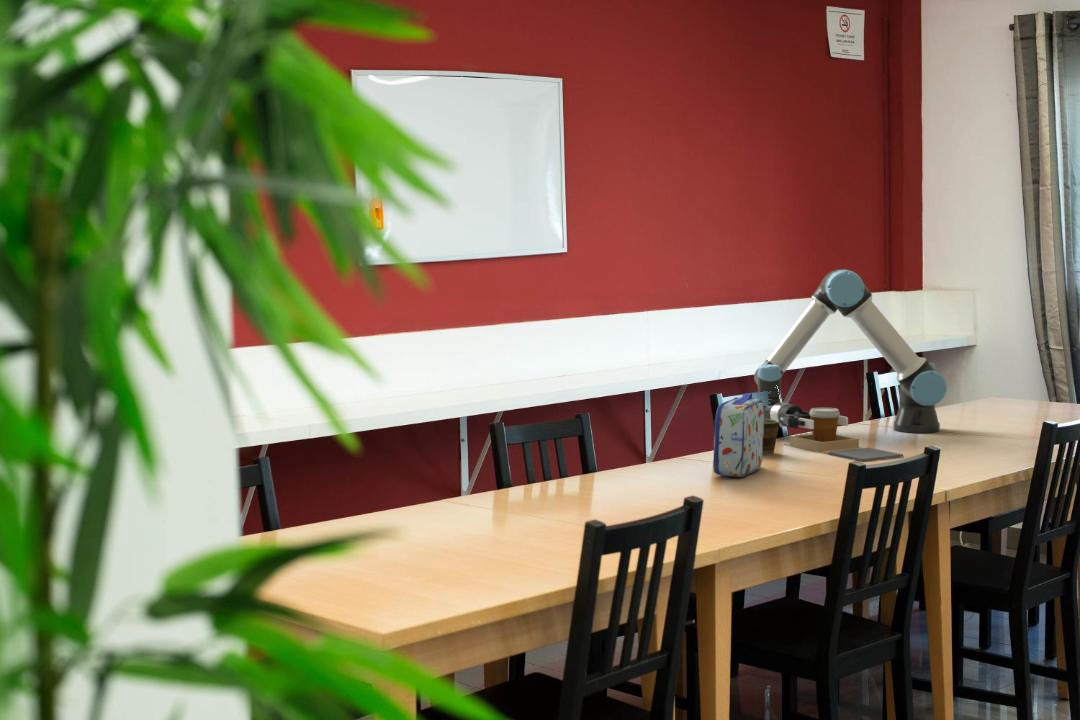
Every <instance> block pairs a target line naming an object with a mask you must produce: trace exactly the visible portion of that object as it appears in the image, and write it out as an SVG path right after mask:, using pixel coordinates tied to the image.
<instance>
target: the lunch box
mask: <svg viewBox="0 0 1080 720" xmlns="http://www.w3.org/2000/svg"><path fill="white" fill-rule="evenodd" d="M715 411H716V413H715V416H714V417H715V419H714V437H713V439H714V440H713V460H712V461H713V462H712V463H713V464H712V467H713V472H714V474H716V475H719V476H727V477H736V478H743V477H744V476H747V475H749V474H751V473H755V472H756V471H757V470H758V469H759V468H760V467H762V466H761V465H762V463H763V457H764V455H763V449H762V445H763V433H764V405H763V402H762V400H760V399H758V398H754V397H753V392H750V393H748V392H747V393H743V395H742V396H739V397H737V396H736V397H734V398H732V399H730V400H727V401H724V402H722V403H720V404H719V405H718V406H717V409H716V410H715Z"/></svg>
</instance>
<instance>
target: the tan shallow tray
mask: <svg viewBox="0 0 1080 720" xmlns="http://www.w3.org/2000/svg"><path fill="white" fill-rule="evenodd" d="M789 441H790V442H785V443H784V444H783V445H785V446H789V447H794V448H799V449H803V450H806V451H807V450H808V451H812V452H818V453H822V454H825V455H826V454H827V455H828V452H832V451H841V450H851V449H860V448H862V447H860V439H859V438H856V437H850V436H846V435H841V434H836V439H835V441H828V442H819V441H814V440H813V433H812V434H802V435H800V434H799V435H792V436H791V435H790V438H789Z"/></svg>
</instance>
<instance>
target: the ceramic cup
mask: <svg viewBox="0 0 1080 720" xmlns="http://www.w3.org/2000/svg"><path fill="white" fill-rule="evenodd" d="M779 427H780V425H779V421H778V420H773V419H764V433H763V445H762V449H763V456H771V455H773V454H774V453H775V450H776V449H775V448H776V442H777V436H778V432H779Z"/></svg>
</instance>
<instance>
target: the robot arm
mask: <svg viewBox="0 0 1080 720" xmlns="http://www.w3.org/2000/svg"><path fill="white" fill-rule="evenodd" d="M837 311H838V312H840V314H841V315H842V317H844V318H850V319H851V320H852V321H853V322H854V323H855V324H856V326H857V327H858V328H859V329H860V331H861V332H862V333H863V334H864V336H865V337H867V339H868V340H869V341H870V343H871V344H872V345H873V346H874V347H875V349H876V350H877V351H878V352H879V353H880V355H882V357H883V358H884V359H885V361H886V362H887V363H888V364H889V365H890V366H891V367H892V369H893V371H895V372H896V381H897V382H898V383H899V397H898V398H899V403H898V410H897V414H896V418H895V420H894V421H893V430H894V431H896V432H904V433H914V434H925V433H926V434H928V433H931V434H932V433H937V432H939V431H941V424H940V421H939V419H938V418H939V417H938V414H937V411H936V404H939V403H940V402H941V401H942V400H943V399H944V397H945V396H946V395H947V394H946V393H947V390H948V389H947V387H948V385H947V381H946V379H945V377H944V376H943V375H942V374H941V373H940V372H938V371H937V369H936V364H935V363H934V362H929V360H928V359H927V358H926V357H921V356H918V355H917V353H915V351H914V350H913V349H912V348H911V346H909V343H908V342H906V340H905V339H904V338H903V336H902V335H900V333H899V332H898V331H897V329H896V328H895V327H894V326H893V325H892V323H891V322H890V321H889V320H888V319H887V318H886V317H885V315H884V314H883V312H882V311H881V310H880V309H879V308H878V307H877V306H876V305H875V303H874V302H873V294H872V293H871V291H870V290H869V289H868V287H867V286H866V285H865V284H864V281H863V280H862V277H860V275H858V274H857V273H856V272H854V271H852V270H849V269H841V268H840V269H839V268H837V269H834V270H832V271H830V272H828V273H827V274H826V275H825V276H824V278H823V279H822V280H821V282H820V284H819V285H818V286H817V289H816V290H815V291H814V293H813V294H812V295H811V301H810V303H808V305H807V307H806V308H805V309H804V310H803V312H802V313H801V314H800V316H799V317H798V318H797V320H796V321H795V322H794V323H793V325H792V326H791V327H790V329H789V330H788V331H787V332H786V334H785V335H784V336H783V338H782V339H781V340H780V341H779V343H778V344H777V345H776V346H775V348H774V349H773V350H772V351H771V353H770V354H769V356H768V357H767V358H766V359H765V361H764V362H763V364H760V365H759V366H758V368H757V369H756V370H755V372H754V375H753V377H754V379H753V380H754V382H755V384H756V385H757V393H758V392H763V391H768V392H769V391H771V394H768V396H769V397H768V398H769V399H772V400H768V401H769V402H770V403H771V404H768V405H770V406H764V419H773V420H778V421H779V427H780V428H784V427H786V428H791V429H796V430H797V429H799V428H798V427H800V428H803V429H809V430H812V429H814V420H811V416H810V414H809V413H810V411H806V410H803V409H802V408H801V406H799V405H796V404H793V403H792V404H791V403H789V402H788V403H787V402H781V401H780V399H781V389H782V388H781V381H782V377H783V376H784V374H785V372H786V371H787V370H788V369H789V367H790V366H791V364H792V363H793V362H794V361H795V360H796V358H797V357H798V355H800V353H801V352H802V350H804V348H805V347H806V345H807V344H808V343H809V342H810V340H811V339H812V338H813V336H814V335H815V334H816V333H817V331H819V329H820V328H821V326H822V325H823V324H824V323H825V322H826V320H827V319H828V317H829V316H830V315H832V314H836V312H837ZM776 385H777V386H778V389H779V392H778V389H777V386H776ZM774 387H776V388H774ZM773 390H775V391H773ZM778 393H779V394H778ZM779 395H780V399H779ZM838 425H840V426H846V427H847V426H848V425H849V417H847V416H844V415H839V418H838Z"/></svg>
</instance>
